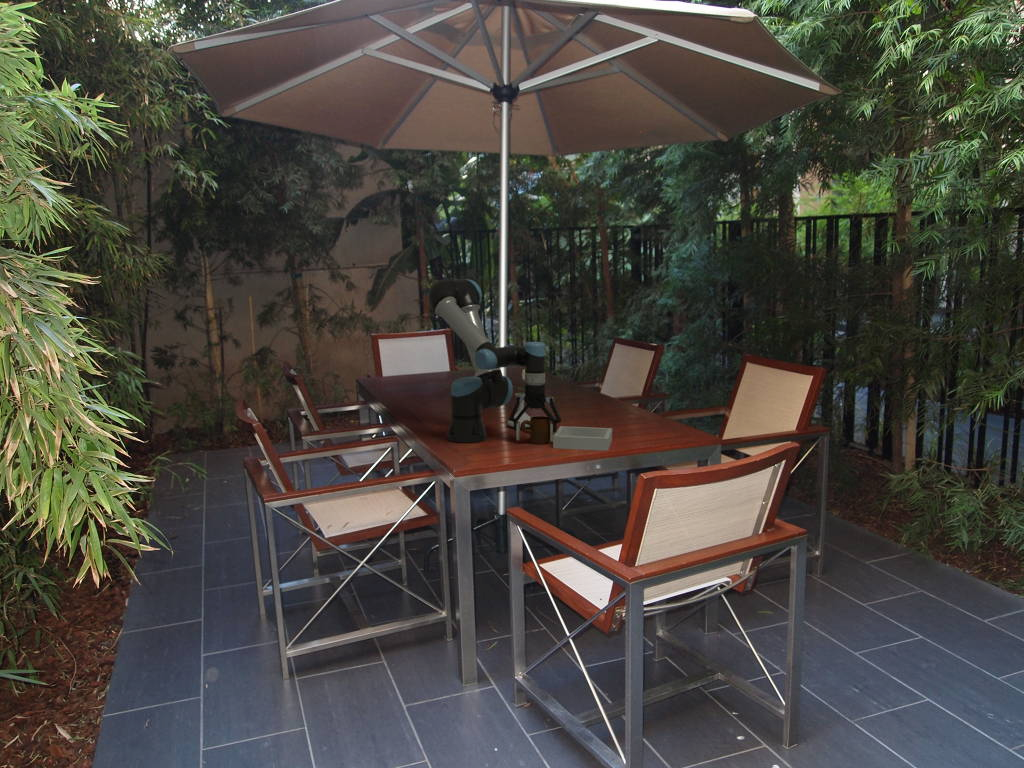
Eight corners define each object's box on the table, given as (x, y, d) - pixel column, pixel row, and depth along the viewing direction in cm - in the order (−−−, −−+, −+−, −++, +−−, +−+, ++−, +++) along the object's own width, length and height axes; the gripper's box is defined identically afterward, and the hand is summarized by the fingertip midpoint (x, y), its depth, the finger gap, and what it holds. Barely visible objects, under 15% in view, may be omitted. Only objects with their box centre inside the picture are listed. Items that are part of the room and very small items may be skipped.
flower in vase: (510, 430, 325) (510, 369, 321) (504, 424, 336) (504, 365, 332) (541, 428, 327) (541, 368, 323) (535, 423, 338) (535, 364, 334)
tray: (553, 448, 294) (553, 436, 293) (560, 437, 311) (560, 426, 311) (607, 450, 290) (608, 438, 289) (612, 439, 307) (612, 428, 307)
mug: (525, 446, 296) (525, 421, 295) (516, 442, 303) (516, 418, 302) (553, 443, 302) (554, 418, 300) (544, 439, 308) (544, 415, 307)
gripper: (500, 384, 298) (501, 440, 301) (566, 386, 293) (566, 443, 296) (505, 381, 305) (505, 436, 308) (569, 383, 300) (568, 439, 303)
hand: (535, 440), depth 302 cm, fingers open, 12 cm apart
